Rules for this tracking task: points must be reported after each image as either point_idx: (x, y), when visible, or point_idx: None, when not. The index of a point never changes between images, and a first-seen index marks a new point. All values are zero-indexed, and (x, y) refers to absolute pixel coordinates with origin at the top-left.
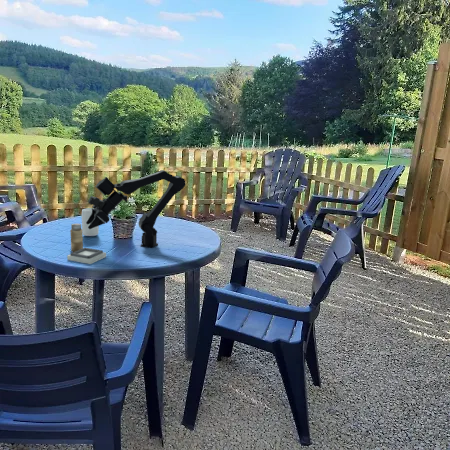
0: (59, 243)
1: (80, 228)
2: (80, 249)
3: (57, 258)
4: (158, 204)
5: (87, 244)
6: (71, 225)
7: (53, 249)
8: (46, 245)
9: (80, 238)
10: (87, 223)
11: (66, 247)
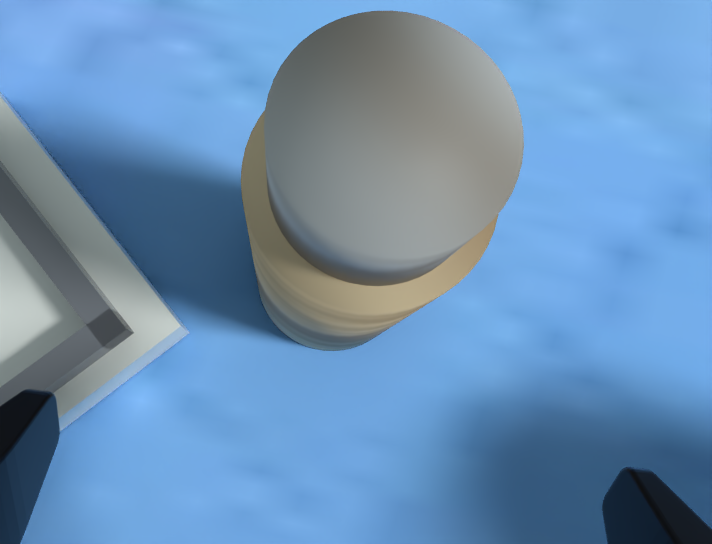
0: (697, 154)
1: (306, 247)
2: (52, 245)
3: (113, 8)
4: None
5: (562, 465)
6: (382, 18)
7: None
8: (654, 15)
9: (259, 275)
10: (616, 503)
11: None
